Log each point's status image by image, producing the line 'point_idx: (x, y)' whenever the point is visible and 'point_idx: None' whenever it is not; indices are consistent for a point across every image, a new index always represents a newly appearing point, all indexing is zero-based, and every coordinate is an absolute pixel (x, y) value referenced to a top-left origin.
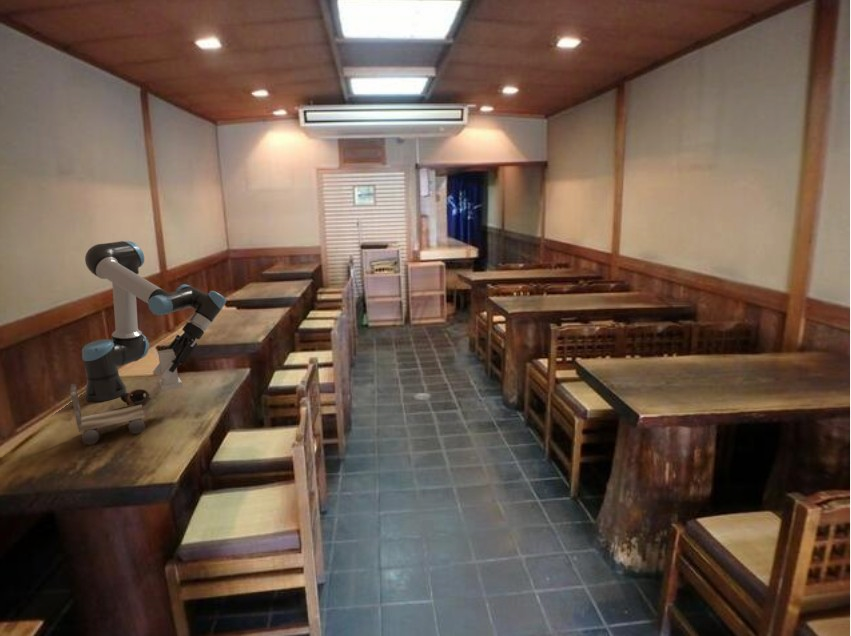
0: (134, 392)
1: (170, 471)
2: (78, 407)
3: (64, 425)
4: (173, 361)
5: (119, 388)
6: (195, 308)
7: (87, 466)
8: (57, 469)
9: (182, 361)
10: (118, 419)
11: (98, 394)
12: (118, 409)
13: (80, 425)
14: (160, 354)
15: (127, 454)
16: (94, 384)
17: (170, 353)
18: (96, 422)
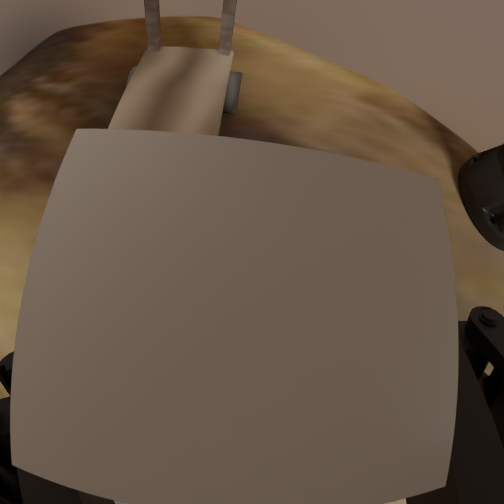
0: None
1: None
2: (221, 22)
3: (330, 84)
4: (5, 366)
5: (498, 222)
6: None
7: (34, 97)
8: (75, 61)
9: (17, 476)
10: (113, 118)
11: (472, 167)
12: (216, 128)
13: (148, 46)
14: (94, 142)
15: (7, 160)
16: (496, 151)
17: (16, 369)
18: (145, 73)
